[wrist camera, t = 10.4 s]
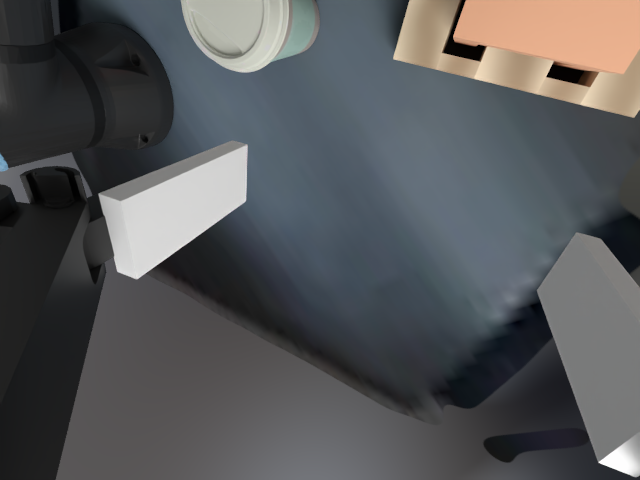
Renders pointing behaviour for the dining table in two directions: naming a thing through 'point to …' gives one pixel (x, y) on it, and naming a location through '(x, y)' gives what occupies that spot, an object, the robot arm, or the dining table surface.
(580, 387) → the robot arm
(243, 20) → the coffee cup
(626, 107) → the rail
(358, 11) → the dining table surface
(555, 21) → the clip
